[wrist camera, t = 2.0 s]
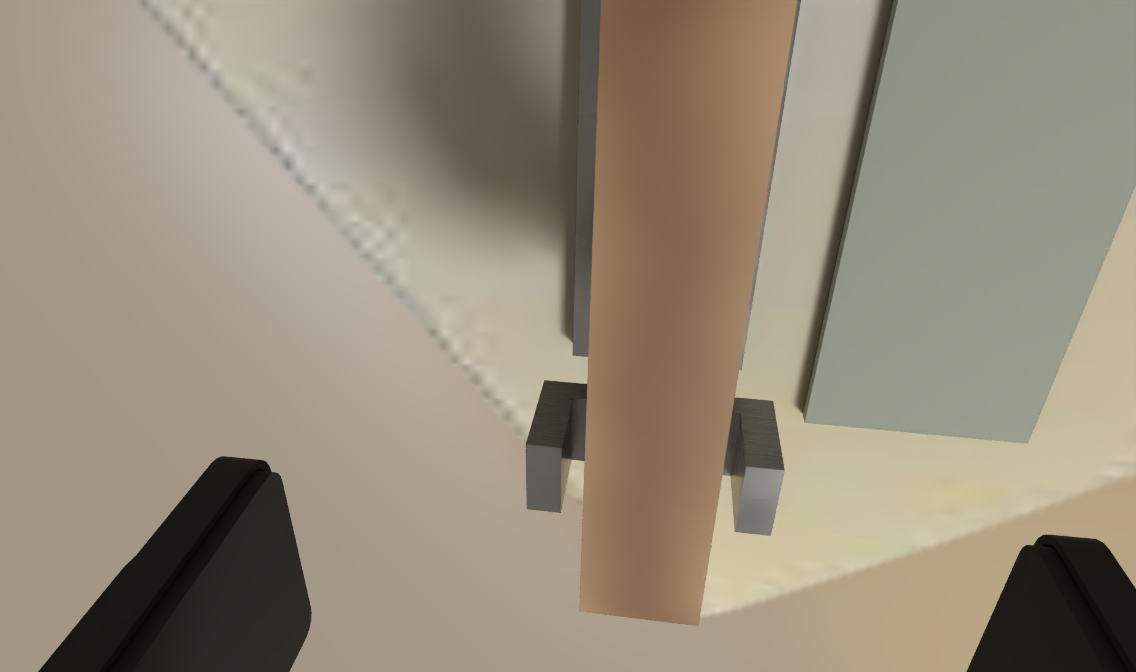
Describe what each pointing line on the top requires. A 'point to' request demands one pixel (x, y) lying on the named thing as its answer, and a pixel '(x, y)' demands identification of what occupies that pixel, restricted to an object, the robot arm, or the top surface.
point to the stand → (564, 403)
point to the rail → (671, 284)
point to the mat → (977, 214)
